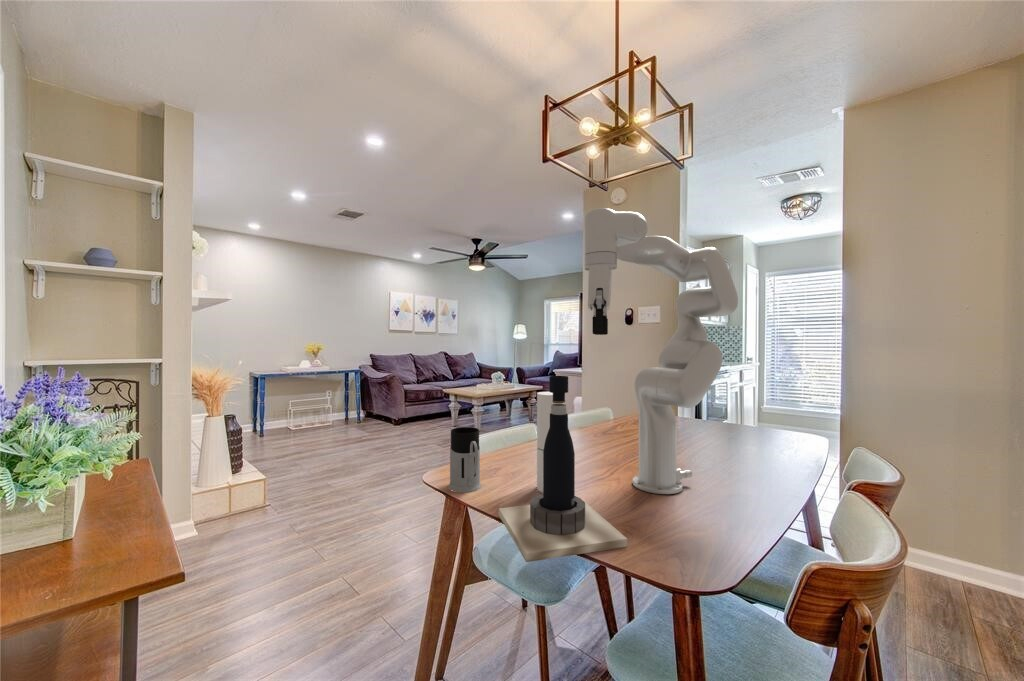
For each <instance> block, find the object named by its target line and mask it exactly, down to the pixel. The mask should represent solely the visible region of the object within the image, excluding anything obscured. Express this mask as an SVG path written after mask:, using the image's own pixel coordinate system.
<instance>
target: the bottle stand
mask: <svg viewBox="0 0 1024 681" xmlns="http://www.w3.org/2000/svg"><path fill="white" fill-rule="evenodd" d="M498 516H499V519H500V520H501V522H502V523H503V525H504V526H505V529H506V530H507V532H508V533H509V535H510V537H511V538H512V540H513V542H514V544H515V546H516V548H517V549H518V552H520V554H521V556H522V558H523V559H524V561H525V563H530V562H536V561H543V560H550V559H556V558H562V557H568V556H569V557H570V556H576V555H581V554H588V553H595V552H602V551H607V550H614V549H615V550H616V549H621V548H626V547H628V538H627V537H626V536H625V535H623V533H621V532H620V531H619V530H618V529H616V528H615V527H614V526H613V525H612V524H611V523H610V522H609V521H607V520H606V519H605V518H604V516H602V515H600V514H599V512H597V511H596V510H595V509H594V508H592V507H591V506H590V505H589V504H588V503H586V502H585V501H584V500H583V499H582V498H581V497H579V496H576V495H575V508H573V509H571V510H565V511H554V510H548V509H546V508H543V493H541V494H540V493H539V494H538V495H535V496H533V498H532V499H531V500H530V502H529V504H526V505H525V504H524V505H518V506H516V505H515V506H509V507H507V506H506V507H499V508H498Z"/></svg>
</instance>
